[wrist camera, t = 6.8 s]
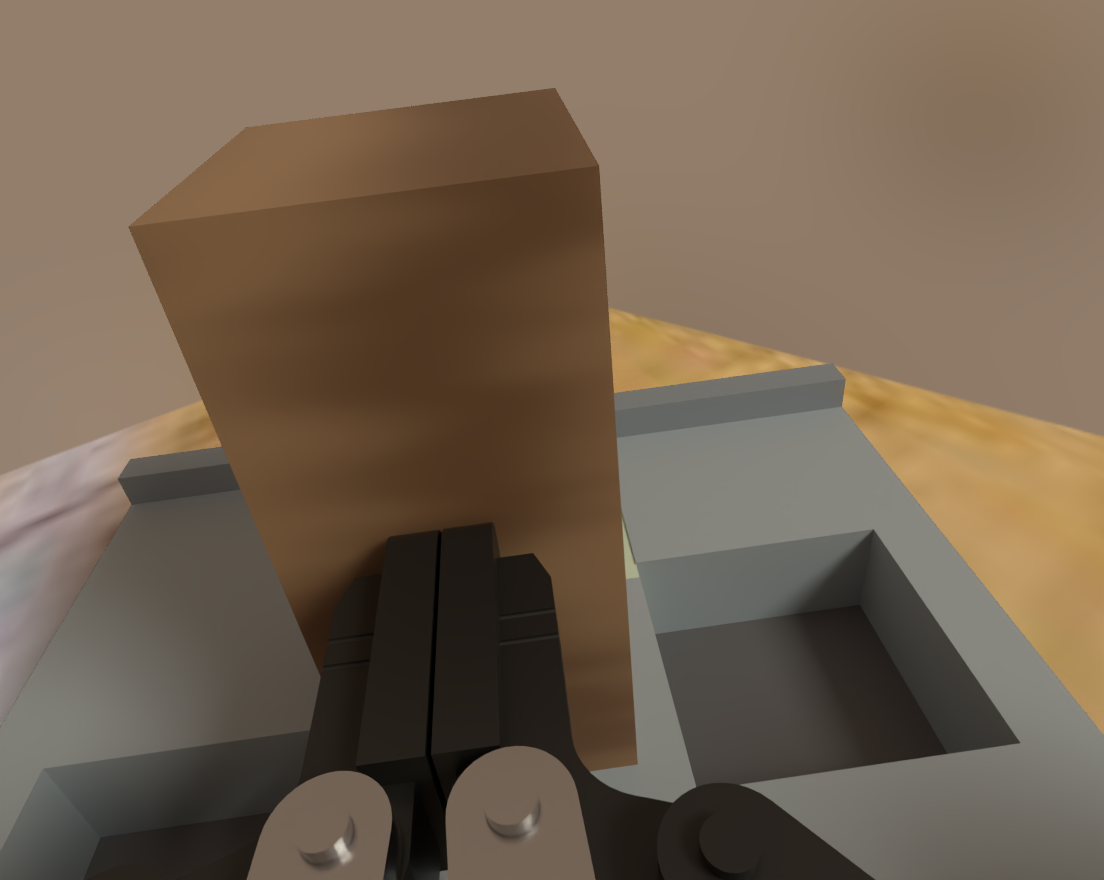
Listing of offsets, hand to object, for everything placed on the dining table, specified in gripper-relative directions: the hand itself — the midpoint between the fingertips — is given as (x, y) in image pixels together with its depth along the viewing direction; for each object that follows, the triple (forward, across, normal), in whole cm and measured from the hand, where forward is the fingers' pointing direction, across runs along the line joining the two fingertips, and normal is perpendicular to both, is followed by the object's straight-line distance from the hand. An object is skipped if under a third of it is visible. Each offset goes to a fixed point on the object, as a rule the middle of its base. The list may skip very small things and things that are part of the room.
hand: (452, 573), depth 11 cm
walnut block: (+2, 0, +6) cm, 6 cm away
